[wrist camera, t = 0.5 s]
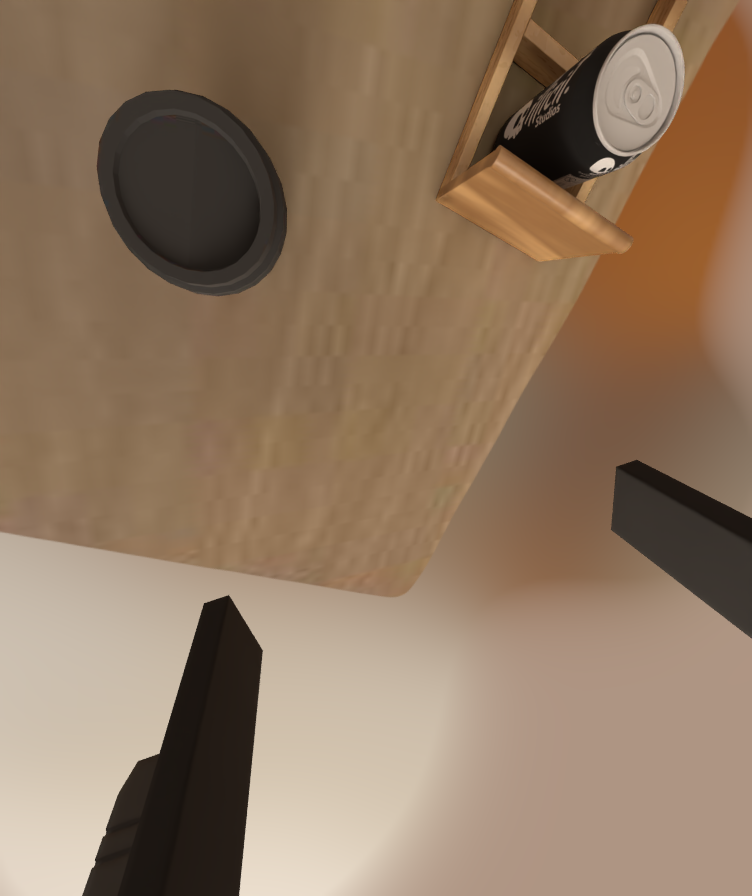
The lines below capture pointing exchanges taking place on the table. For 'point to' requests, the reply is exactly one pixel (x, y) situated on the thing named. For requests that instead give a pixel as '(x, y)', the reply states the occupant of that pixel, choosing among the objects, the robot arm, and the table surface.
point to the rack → (514, 181)
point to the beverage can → (601, 108)
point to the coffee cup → (192, 192)
